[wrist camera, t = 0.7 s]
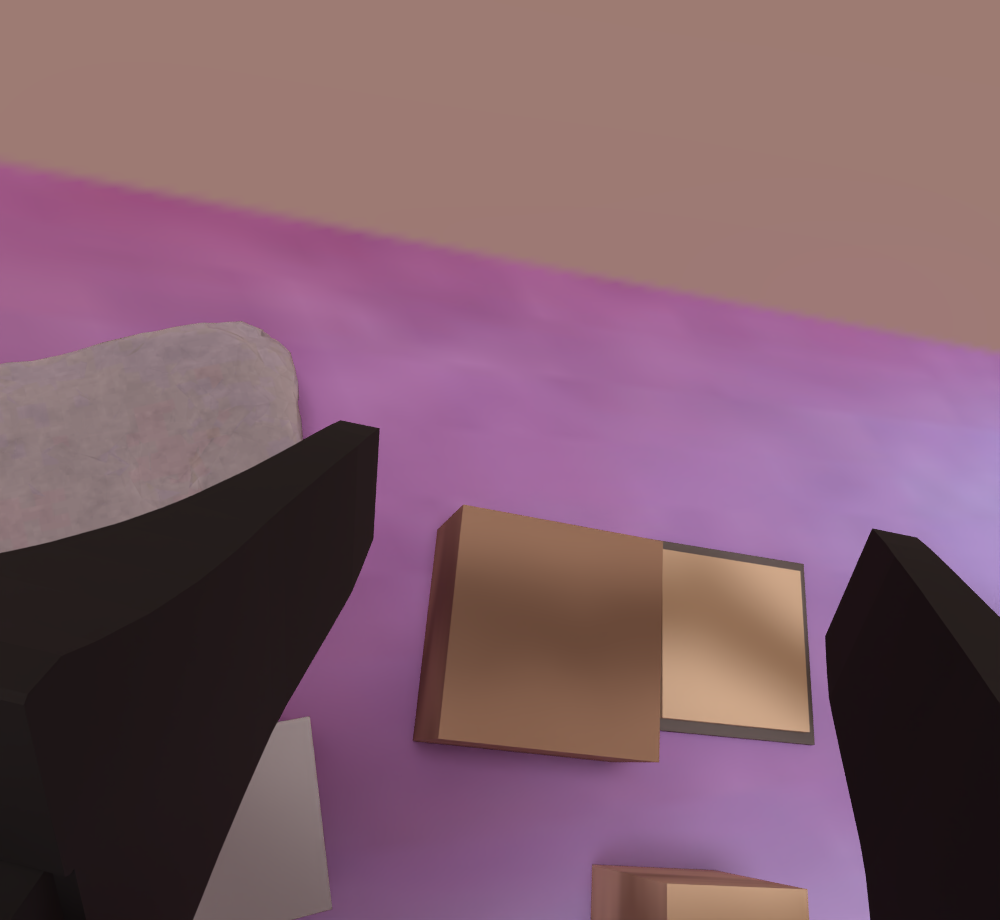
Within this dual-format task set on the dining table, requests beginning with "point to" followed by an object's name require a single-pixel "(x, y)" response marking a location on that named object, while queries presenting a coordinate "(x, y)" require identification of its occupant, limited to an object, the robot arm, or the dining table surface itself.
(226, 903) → the slate block
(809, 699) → the tile
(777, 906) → the maple block
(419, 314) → the dining table surface
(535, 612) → the walnut block
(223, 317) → the dining table surface
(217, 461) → the stone block
